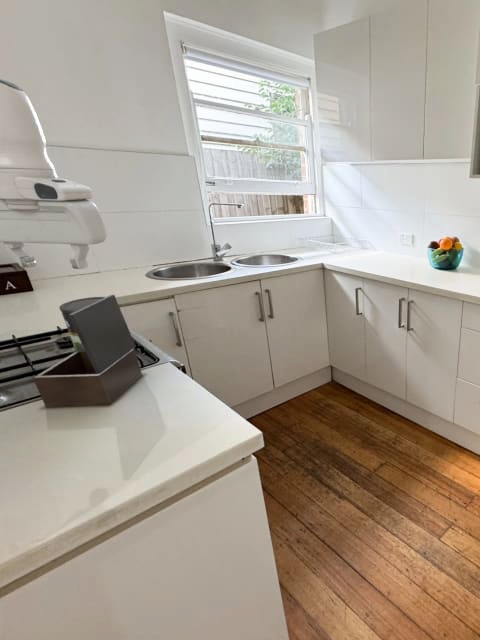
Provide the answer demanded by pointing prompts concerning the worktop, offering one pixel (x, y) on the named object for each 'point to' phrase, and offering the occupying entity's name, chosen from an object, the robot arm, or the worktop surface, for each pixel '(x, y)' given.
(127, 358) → the open brown box
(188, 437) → the worktop surface
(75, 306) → the coffee can
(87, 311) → the dark grey box door
